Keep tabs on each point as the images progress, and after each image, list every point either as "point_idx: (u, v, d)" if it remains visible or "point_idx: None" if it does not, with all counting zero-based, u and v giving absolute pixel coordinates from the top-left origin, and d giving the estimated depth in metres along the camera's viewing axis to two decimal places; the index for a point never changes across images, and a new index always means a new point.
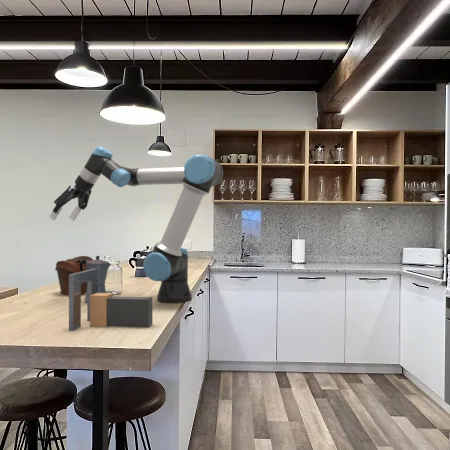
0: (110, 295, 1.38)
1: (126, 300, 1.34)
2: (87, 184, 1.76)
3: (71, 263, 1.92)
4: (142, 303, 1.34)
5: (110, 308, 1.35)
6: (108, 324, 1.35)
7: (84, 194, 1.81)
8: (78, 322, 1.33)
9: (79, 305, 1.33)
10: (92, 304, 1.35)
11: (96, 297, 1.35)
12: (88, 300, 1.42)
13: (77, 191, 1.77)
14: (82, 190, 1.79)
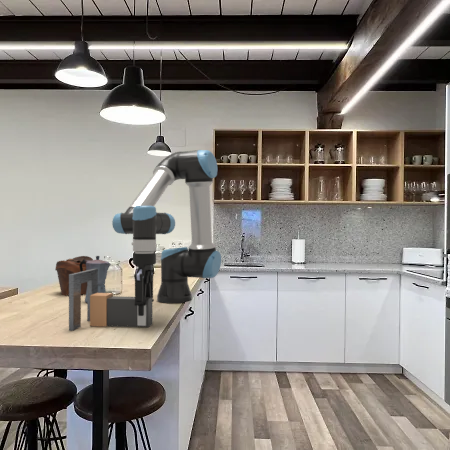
0: (110, 295, 1.38)
1: (126, 300, 1.34)
2: (150, 256, 1.33)
3: (71, 263, 1.92)
4: None
5: (110, 308, 1.35)
6: (108, 324, 1.35)
7: (151, 272, 1.37)
8: (78, 322, 1.33)
9: (79, 305, 1.33)
10: (92, 304, 1.35)
11: (96, 297, 1.35)
12: (88, 300, 1.42)
13: (144, 271, 1.33)
14: (147, 268, 1.36)
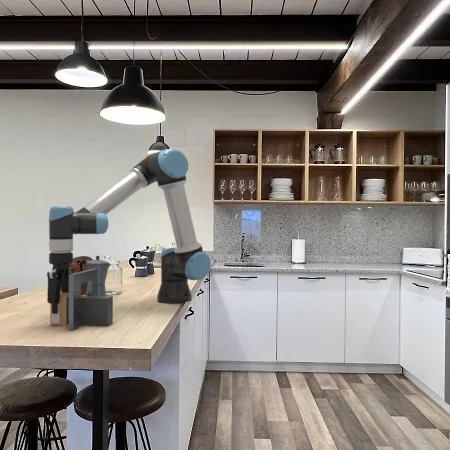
0: None
1: (86, 299, 1.36)
2: (65, 256, 1.37)
3: (71, 263, 1.92)
4: (101, 302, 1.35)
5: None
6: (68, 323, 1.36)
7: (68, 271, 1.41)
8: (78, 322, 1.33)
9: (79, 305, 1.33)
10: None
11: None
12: None
13: (59, 270, 1.36)
14: (64, 267, 1.39)
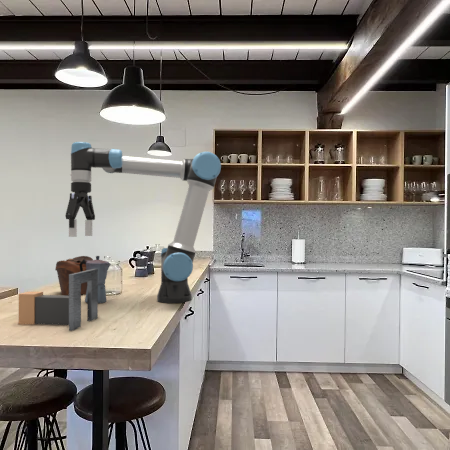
0: (40, 294, 1.41)
1: (53, 298, 1.37)
2: (85, 184, 1.59)
3: (71, 263, 1.92)
4: None
5: (38, 307, 1.38)
6: (36, 322, 1.38)
7: (87, 199, 1.63)
8: (78, 322, 1.33)
9: (79, 305, 1.33)
10: (20, 303, 1.38)
11: (24, 295, 1.38)
12: (88, 300, 1.42)
13: (80, 197, 1.59)
14: (83, 195, 1.62)
